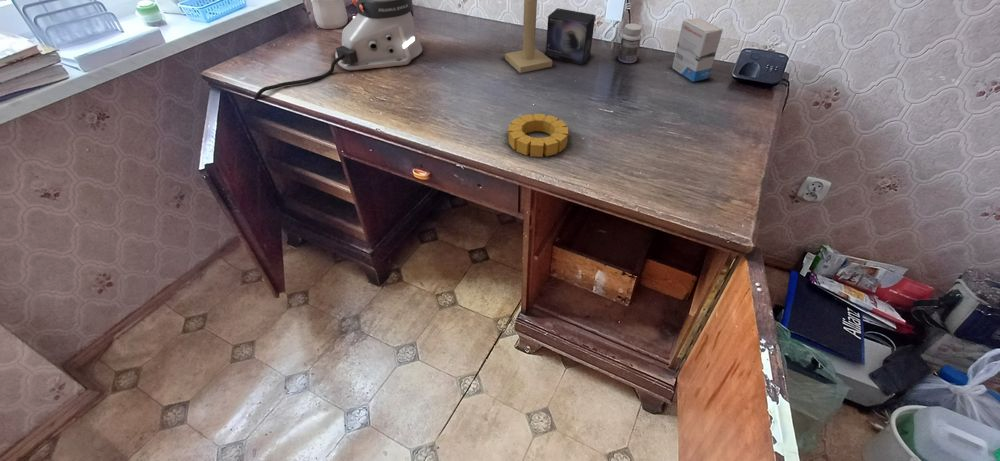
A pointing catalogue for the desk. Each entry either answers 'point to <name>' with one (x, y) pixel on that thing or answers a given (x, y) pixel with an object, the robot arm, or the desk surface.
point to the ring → (538, 145)
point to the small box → (569, 35)
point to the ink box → (696, 49)
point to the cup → (330, 13)
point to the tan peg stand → (528, 44)
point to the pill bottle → (630, 43)
